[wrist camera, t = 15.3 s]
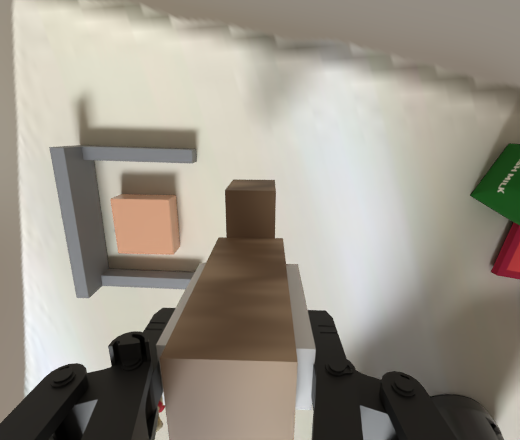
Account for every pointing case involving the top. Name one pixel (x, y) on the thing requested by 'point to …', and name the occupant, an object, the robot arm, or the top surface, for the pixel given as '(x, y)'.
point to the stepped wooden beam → (236, 333)
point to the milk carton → (502, 185)
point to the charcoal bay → (90, 219)
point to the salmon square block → (146, 223)
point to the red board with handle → (509, 255)
